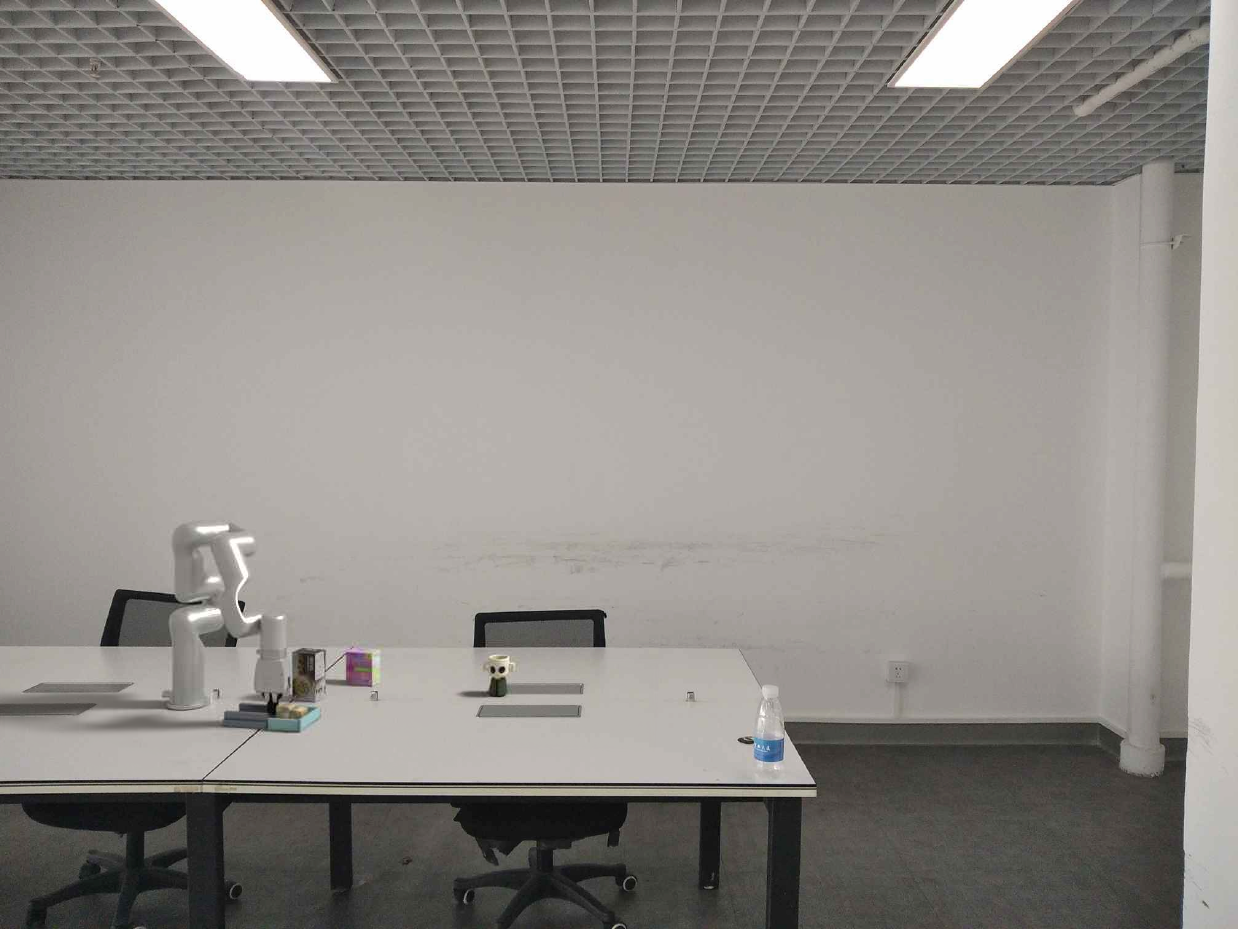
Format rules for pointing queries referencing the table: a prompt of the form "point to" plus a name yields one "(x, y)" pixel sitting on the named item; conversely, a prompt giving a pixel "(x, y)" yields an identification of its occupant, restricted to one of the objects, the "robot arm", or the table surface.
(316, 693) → the coffee box
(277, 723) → the tray
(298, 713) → the chip
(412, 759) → the table surface
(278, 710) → the chip
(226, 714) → the slot rail
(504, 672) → the character mug
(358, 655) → the box
